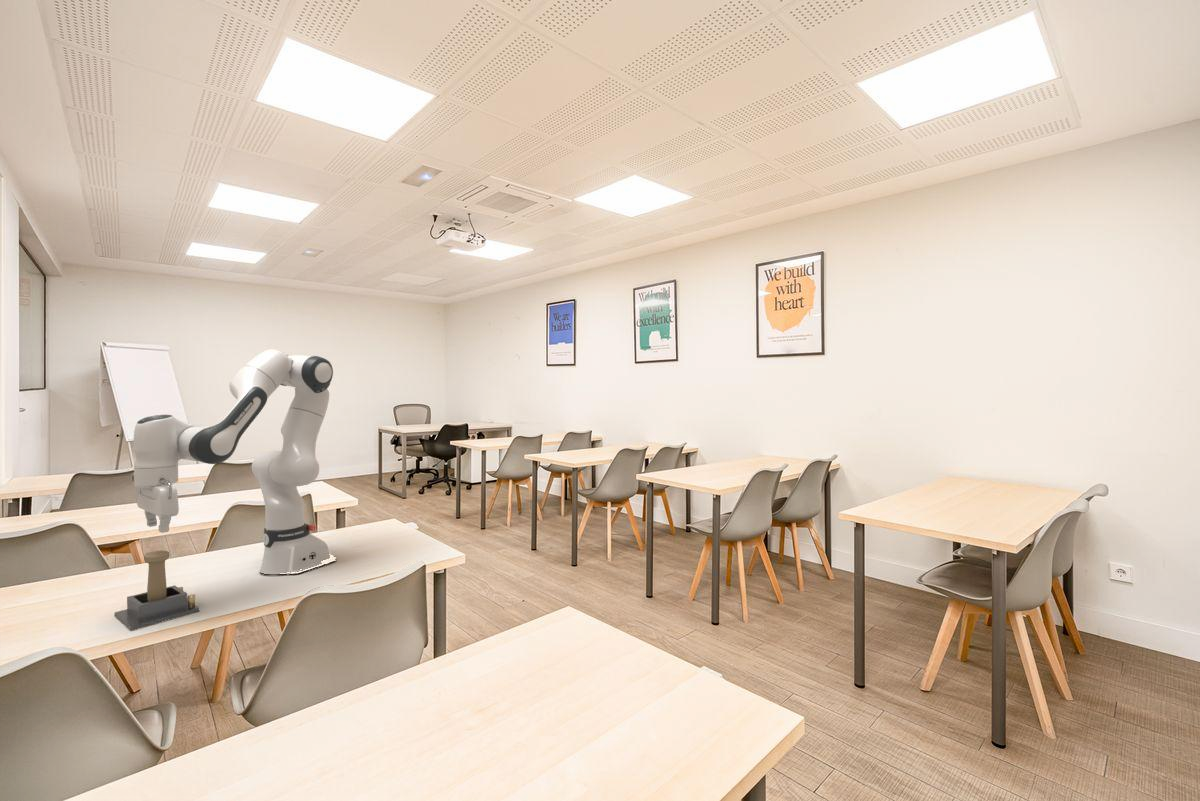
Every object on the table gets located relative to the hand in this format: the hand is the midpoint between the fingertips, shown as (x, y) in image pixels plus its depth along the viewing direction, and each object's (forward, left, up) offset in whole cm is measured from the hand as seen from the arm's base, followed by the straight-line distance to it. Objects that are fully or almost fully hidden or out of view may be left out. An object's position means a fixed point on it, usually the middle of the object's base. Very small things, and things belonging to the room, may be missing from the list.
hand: (157, 528), depth 136 cm
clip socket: (0, 0, -23) cm, 23 cm away
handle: (0, 0, -22) cm, 22 cm away
